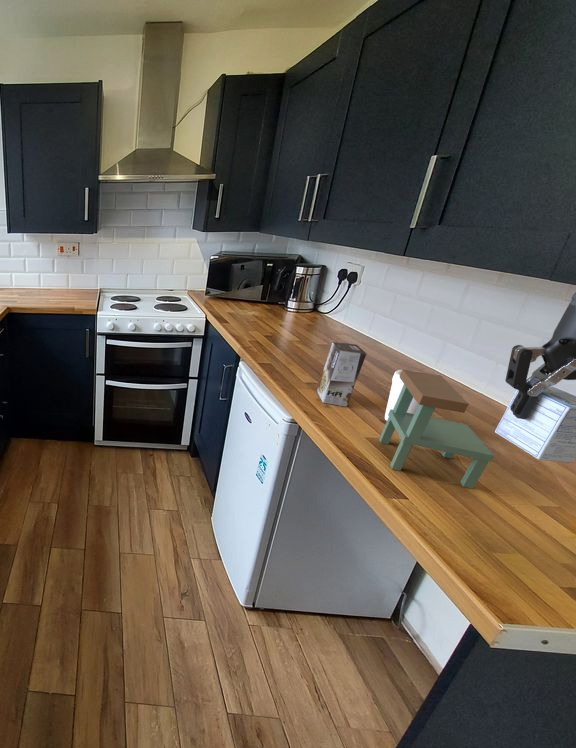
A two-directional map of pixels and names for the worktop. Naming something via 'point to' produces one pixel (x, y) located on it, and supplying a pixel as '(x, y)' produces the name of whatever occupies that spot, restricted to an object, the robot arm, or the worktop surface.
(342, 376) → the coffee box
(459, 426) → the step stool
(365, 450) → the worktop surface
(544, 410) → the medicine box
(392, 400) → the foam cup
